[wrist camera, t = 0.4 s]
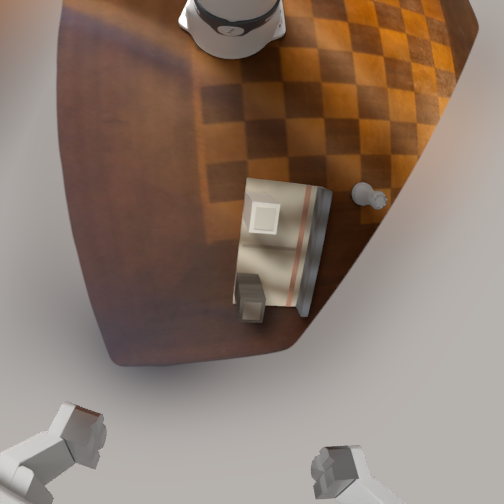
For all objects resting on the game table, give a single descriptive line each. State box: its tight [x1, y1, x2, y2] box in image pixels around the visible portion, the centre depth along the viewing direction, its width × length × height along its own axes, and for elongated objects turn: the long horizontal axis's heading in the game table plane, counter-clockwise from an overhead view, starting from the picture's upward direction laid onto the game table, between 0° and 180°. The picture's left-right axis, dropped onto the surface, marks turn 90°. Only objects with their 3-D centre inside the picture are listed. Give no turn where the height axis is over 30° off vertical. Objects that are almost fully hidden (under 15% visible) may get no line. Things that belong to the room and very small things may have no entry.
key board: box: [233, 178, 333, 317], centre depth 54 cm, size 24×14×5 cm, turn 173°
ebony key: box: [234, 273, 266, 323], centre depth 52 cm, size 4×4×10 cm
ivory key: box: [243, 191, 280, 235], centre depth 48 cm, size 4×4×10 cm
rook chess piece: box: [352, 182, 387, 209], centre depth 51 cm, size 4×4×8 cm
